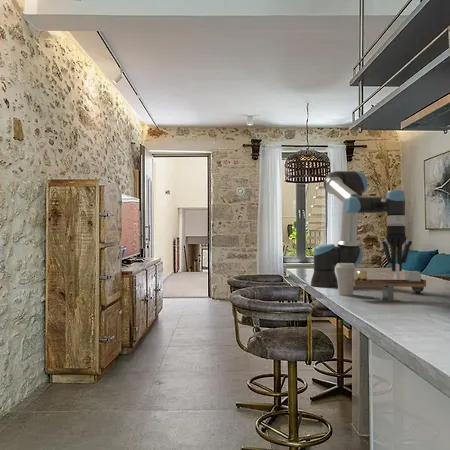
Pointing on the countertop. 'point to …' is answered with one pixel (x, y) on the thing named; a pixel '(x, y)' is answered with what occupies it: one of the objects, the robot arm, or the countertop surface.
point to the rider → (412, 276)
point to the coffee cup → (345, 278)
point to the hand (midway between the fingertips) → (396, 278)
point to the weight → (361, 275)
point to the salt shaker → (417, 289)
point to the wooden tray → (385, 282)
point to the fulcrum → (388, 294)
